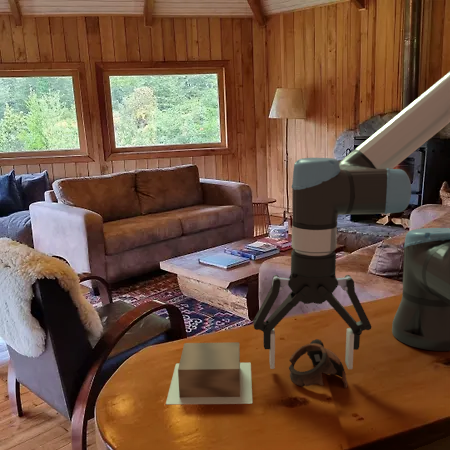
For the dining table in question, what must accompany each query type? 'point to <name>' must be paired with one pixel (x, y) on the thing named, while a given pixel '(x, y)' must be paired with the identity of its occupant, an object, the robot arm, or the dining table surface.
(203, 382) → the walnut block
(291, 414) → the dining table surface
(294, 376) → the pottery mug
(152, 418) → the dining table surface
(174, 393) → the build board
